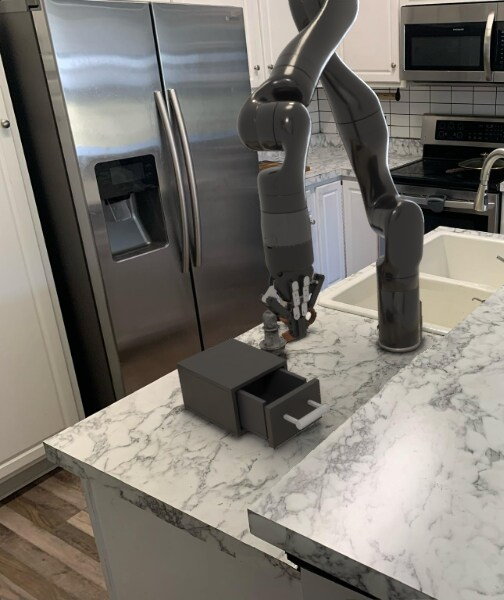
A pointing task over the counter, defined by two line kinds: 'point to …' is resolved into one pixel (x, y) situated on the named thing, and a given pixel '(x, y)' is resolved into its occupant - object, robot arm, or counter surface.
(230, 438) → the counter surface
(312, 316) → the pottery mug
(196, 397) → the small drawer cabinet
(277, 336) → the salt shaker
